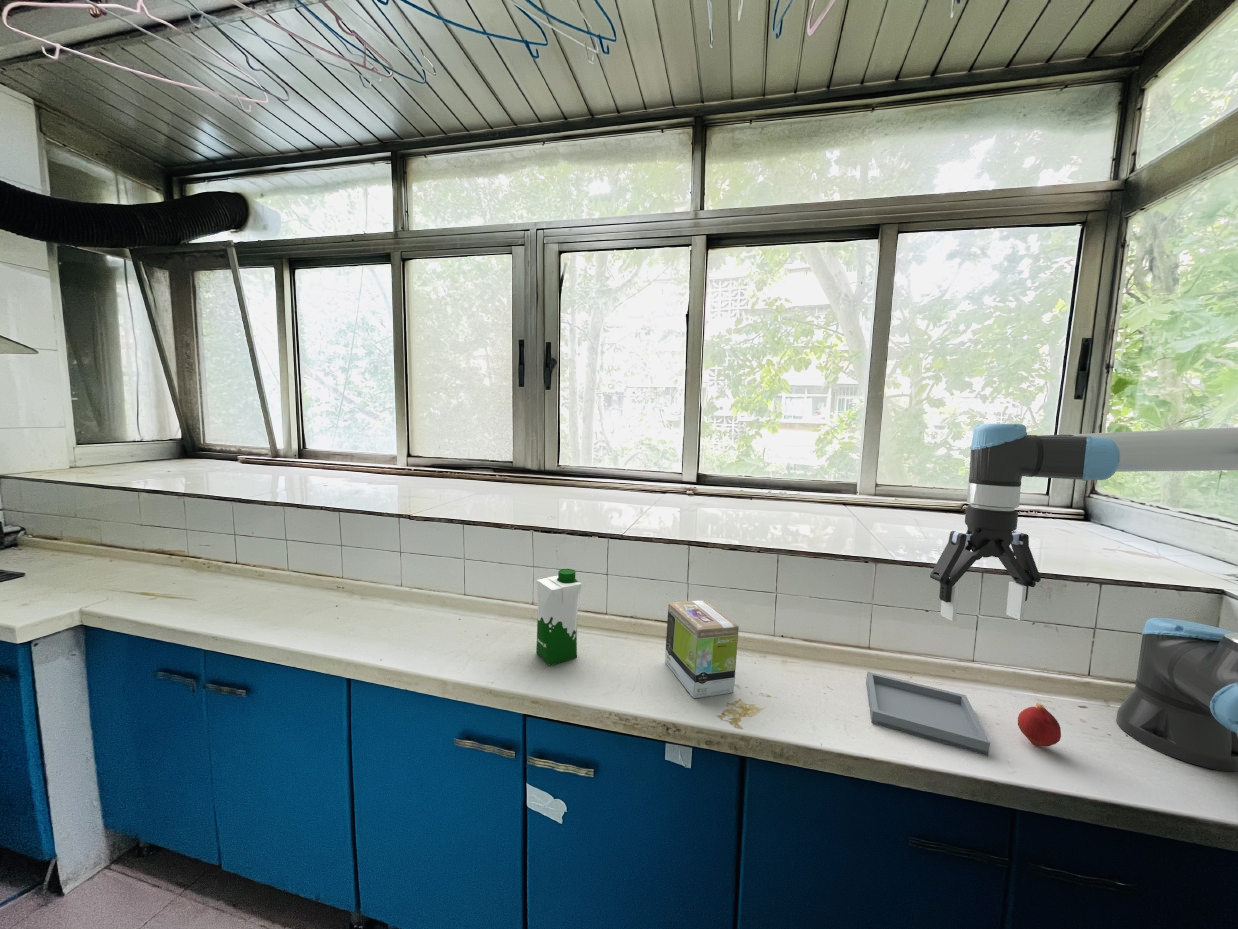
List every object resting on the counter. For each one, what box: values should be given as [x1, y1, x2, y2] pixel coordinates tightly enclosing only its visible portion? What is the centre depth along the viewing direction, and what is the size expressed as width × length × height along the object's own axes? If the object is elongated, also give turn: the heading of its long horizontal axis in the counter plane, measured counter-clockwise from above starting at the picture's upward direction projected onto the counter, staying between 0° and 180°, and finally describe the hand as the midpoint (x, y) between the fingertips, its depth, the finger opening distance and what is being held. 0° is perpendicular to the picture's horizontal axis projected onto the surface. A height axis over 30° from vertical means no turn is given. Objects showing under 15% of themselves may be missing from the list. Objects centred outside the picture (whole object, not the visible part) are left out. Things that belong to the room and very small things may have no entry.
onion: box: [1017, 702, 1062, 748], centre depth 82 cm, size 6×6×8 cm
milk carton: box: [535, 568, 583, 667], centre depth 106 cm, size 9×9×20 cm
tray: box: [865, 671, 991, 757], centre depth 90 cm, size 18×16×2 cm
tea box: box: [664, 599, 740, 699], centre depth 100 cm, size 15×10×15 cm
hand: (981, 618), depth 86 cm, fingers open, 13 cm apart
